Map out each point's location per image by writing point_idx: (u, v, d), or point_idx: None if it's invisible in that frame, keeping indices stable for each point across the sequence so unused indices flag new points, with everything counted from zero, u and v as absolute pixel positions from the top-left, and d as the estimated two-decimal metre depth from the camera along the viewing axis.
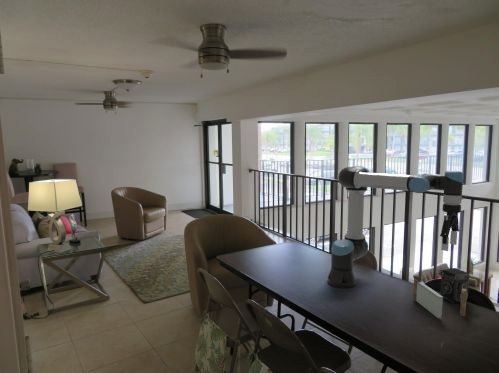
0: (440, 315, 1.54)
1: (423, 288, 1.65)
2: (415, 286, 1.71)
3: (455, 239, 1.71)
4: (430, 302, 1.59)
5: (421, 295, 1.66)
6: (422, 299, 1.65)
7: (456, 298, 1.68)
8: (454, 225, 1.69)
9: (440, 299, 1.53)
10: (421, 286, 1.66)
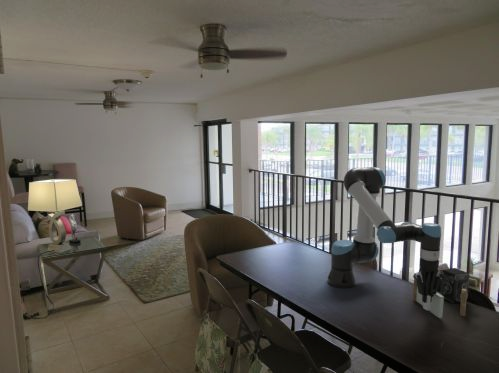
0: (441, 315, 1.54)
1: None
2: (415, 286, 1.71)
3: None
4: (431, 302, 1.59)
5: None
6: None
7: (456, 298, 1.68)
8: (430, 285, 1.55)
9: (441, 298, 1.53)
10: None
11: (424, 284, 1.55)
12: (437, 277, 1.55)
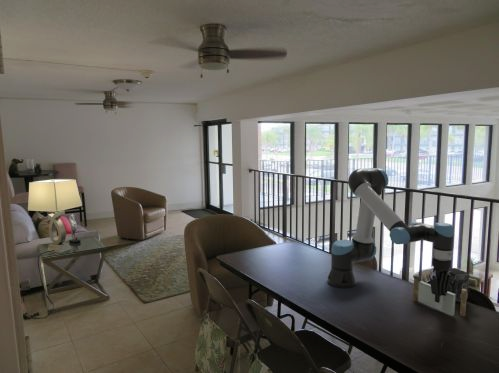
0: (453, 312, 1.56)
1: (428, 288, 1.65)
2: (415, 286, 1.71)
3: None
4: None
5: (426, 294, 1.66)
6: (428, 298, 1.66)
7: (456, 298, 1.68)
8: (442, 284, 1.56)
9: (453, 296, 1.55)
10: (425, 286, 1.66)
11: (437, 284, 1.55)
12: (447, 276, 1.57)
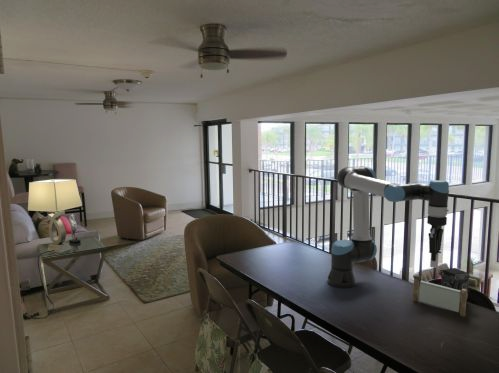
0: None
1: (430, 287, 1.66)
2: (415, 286, 1.71)
3: None
4: (444, 299, 1.63)
5: (428, 294, 1.67)
6: (430, 297, 1.67)
7: None
8: None
9: (459, 293, 1.58)
10: (428, 285, 1.67)
11: None
12: None
